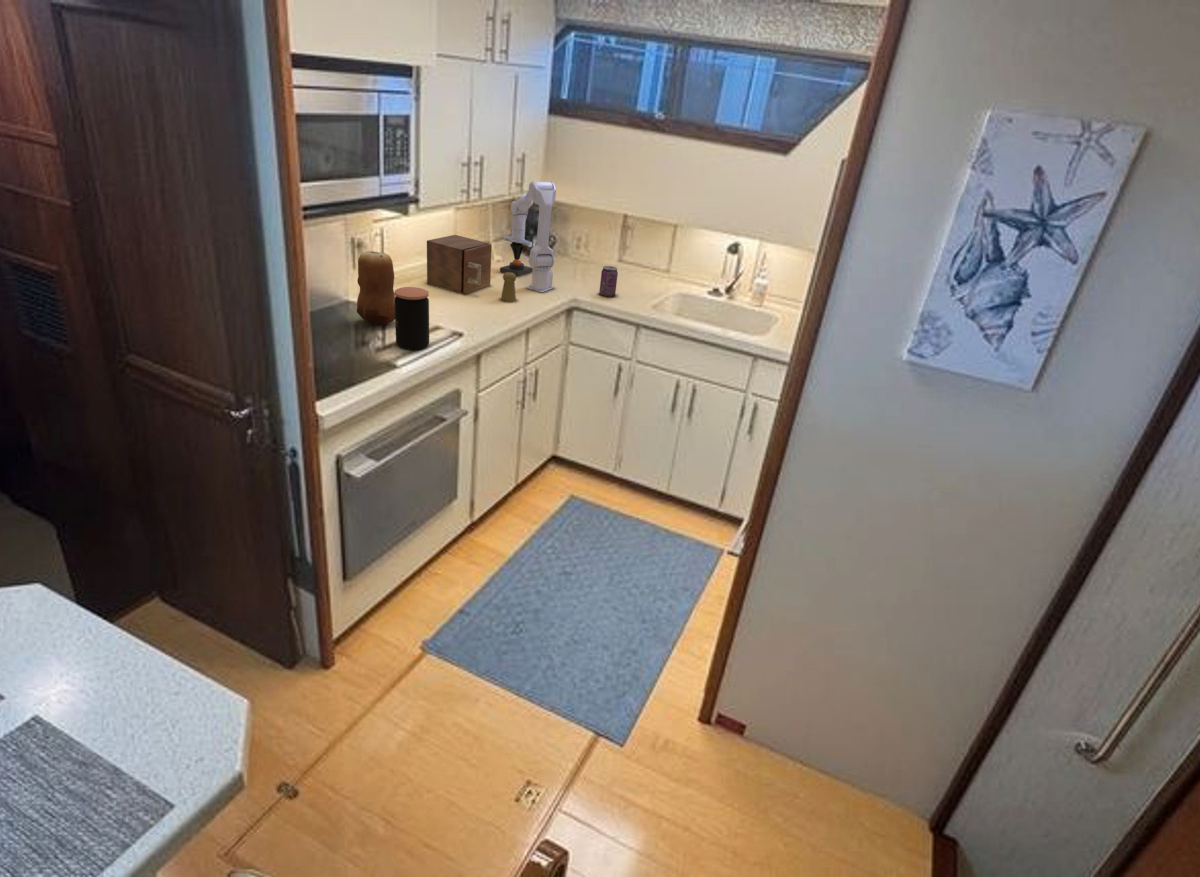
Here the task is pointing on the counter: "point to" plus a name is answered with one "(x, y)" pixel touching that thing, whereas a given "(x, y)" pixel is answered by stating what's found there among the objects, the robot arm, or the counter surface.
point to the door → (477, 268)
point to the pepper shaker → (509, 287)
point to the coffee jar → (412, 318)
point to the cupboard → (448, 261)
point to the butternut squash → (376, 288)
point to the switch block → (516, 269)
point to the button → (516, 262)
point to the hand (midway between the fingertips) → (517, 259)
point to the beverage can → (608, 281)
